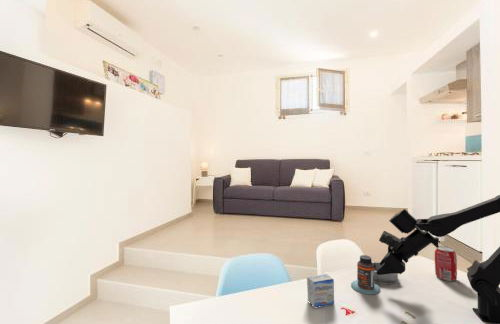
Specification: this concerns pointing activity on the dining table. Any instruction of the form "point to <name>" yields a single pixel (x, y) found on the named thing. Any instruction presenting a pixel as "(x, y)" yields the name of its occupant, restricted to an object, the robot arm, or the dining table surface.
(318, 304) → the medicine box
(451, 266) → the soda can
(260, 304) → the dining table surface
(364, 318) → the dining table surface
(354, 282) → the teal mat
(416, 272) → the dining table surface
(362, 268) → the supplement bottle
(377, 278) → the grey octagonal bowl
